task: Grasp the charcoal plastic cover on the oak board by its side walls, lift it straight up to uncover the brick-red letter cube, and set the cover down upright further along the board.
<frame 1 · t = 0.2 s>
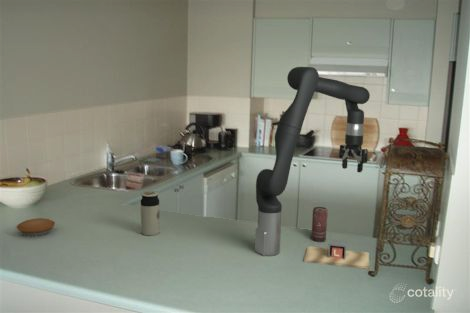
hand: (352, 170, 211), 29 cm above the countertop, fingers open, 8 cm apart
letter cube: (337, 256, 187), point 1 cm above the countertop, touching board
can: (318, 240, 207), on the countertop
cover: (337, 255, 187), point 1 cm above the countertop, touching board
board: (336, 258, 187), on the countertop
travel mug: (150, 233, 212), on the countertop
pie: (36, 233, 210), on the countertop
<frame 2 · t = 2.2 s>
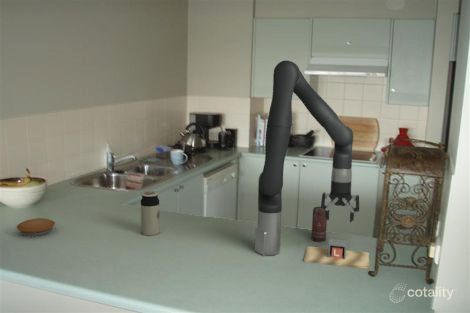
hand: (339, 220, 185), 15 cm above the countertop, fingers open, 8 cm apart
nothing on the countertop moved.
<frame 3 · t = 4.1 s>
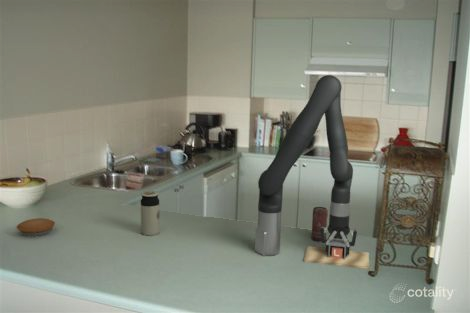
hand: (337, 254, 187), 2 cm above the countertop, fingers closed on cover, 6 cm apart
cover: (337, 255, 187), point 1 cm above the countertop, touching board, gripper
everything else where it was.
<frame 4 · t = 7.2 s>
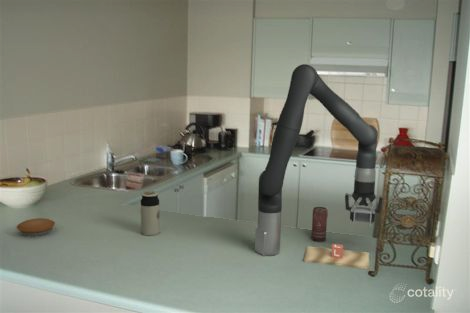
hand: (362, 221, 182), 16 cm above the countertop, fingers closed on cover, 6 cm apart
cover: (361, 223, 183), point 15 cm above the countertop, touching gripper
everything else where it was.
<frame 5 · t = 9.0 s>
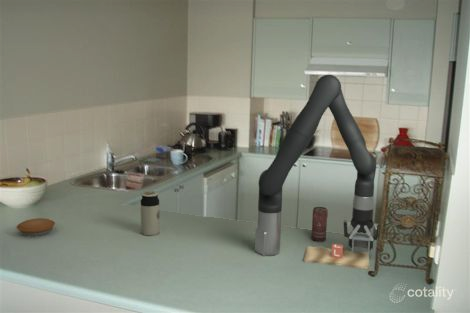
hand: (360, 248, 184), 5 cm above the countertop, fingers closed on cover, 6 cm apart
cover: (360, 250, 185), point 4 cm above the countertop, touching gripper
everything else where it was.
when the fingers open (3 cm above the countertop, at t = 10.4 s): cover drops 1 cm, resting on board.
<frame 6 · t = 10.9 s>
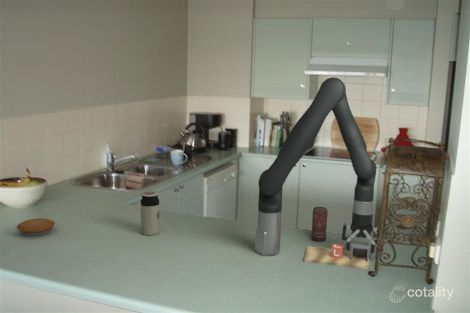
hand: (360, 251, 185), 4 cm above the countertop, fingers open, 8 cm apart
cover: (359, 258, 185), point 1 cm above the countertop, touching board
everything else where it was.
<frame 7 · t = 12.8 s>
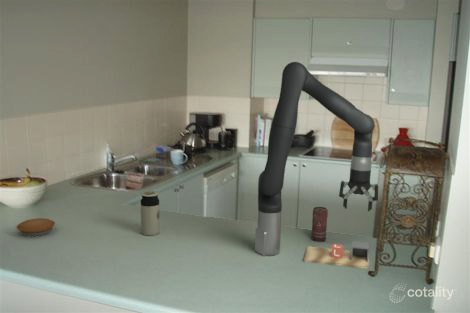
hand: (357, 209, 184), 20 cm above the countertop, fingers open, 8 cm apart
nothing on the countertop moved.
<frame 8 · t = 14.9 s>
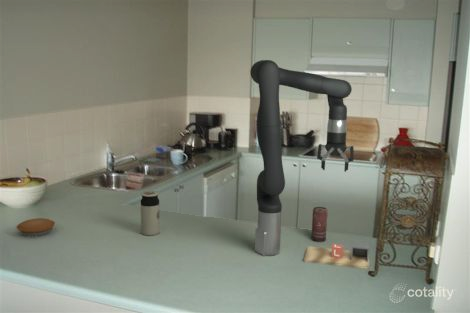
hand: (334, 170, 194), 32 cm above the countertop, fingers open, 8 cm apart
nothing on the countertop moved.
at the end: cover 0.1 cm from the target spot on the board, point 1.0 cm above the board's base; cover tilted 0°; letter cube moved 0.0 cm from its start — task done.
